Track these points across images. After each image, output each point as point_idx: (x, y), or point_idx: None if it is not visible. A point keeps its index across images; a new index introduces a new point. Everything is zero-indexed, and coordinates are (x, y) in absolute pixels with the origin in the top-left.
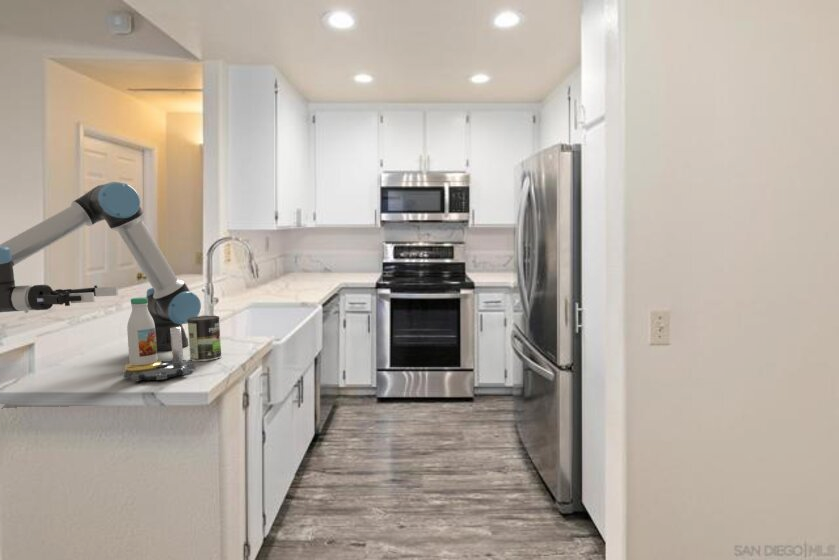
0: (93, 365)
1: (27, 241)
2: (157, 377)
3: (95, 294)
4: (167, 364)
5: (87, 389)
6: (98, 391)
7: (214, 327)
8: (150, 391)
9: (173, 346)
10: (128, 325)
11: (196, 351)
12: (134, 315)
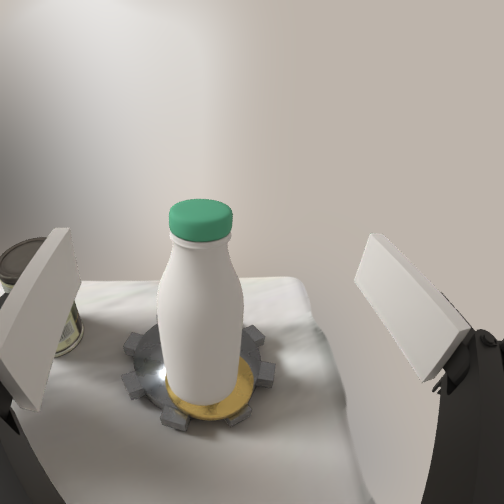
0: None
1: None
2: (262, 340)
3: (8, 409)
4: None
5: (329, 454)
6: (337, 419)
7: None
8: (312, 334)
9: None
10: (236, 313)
11: (72, 324)
12: (233, 269)
